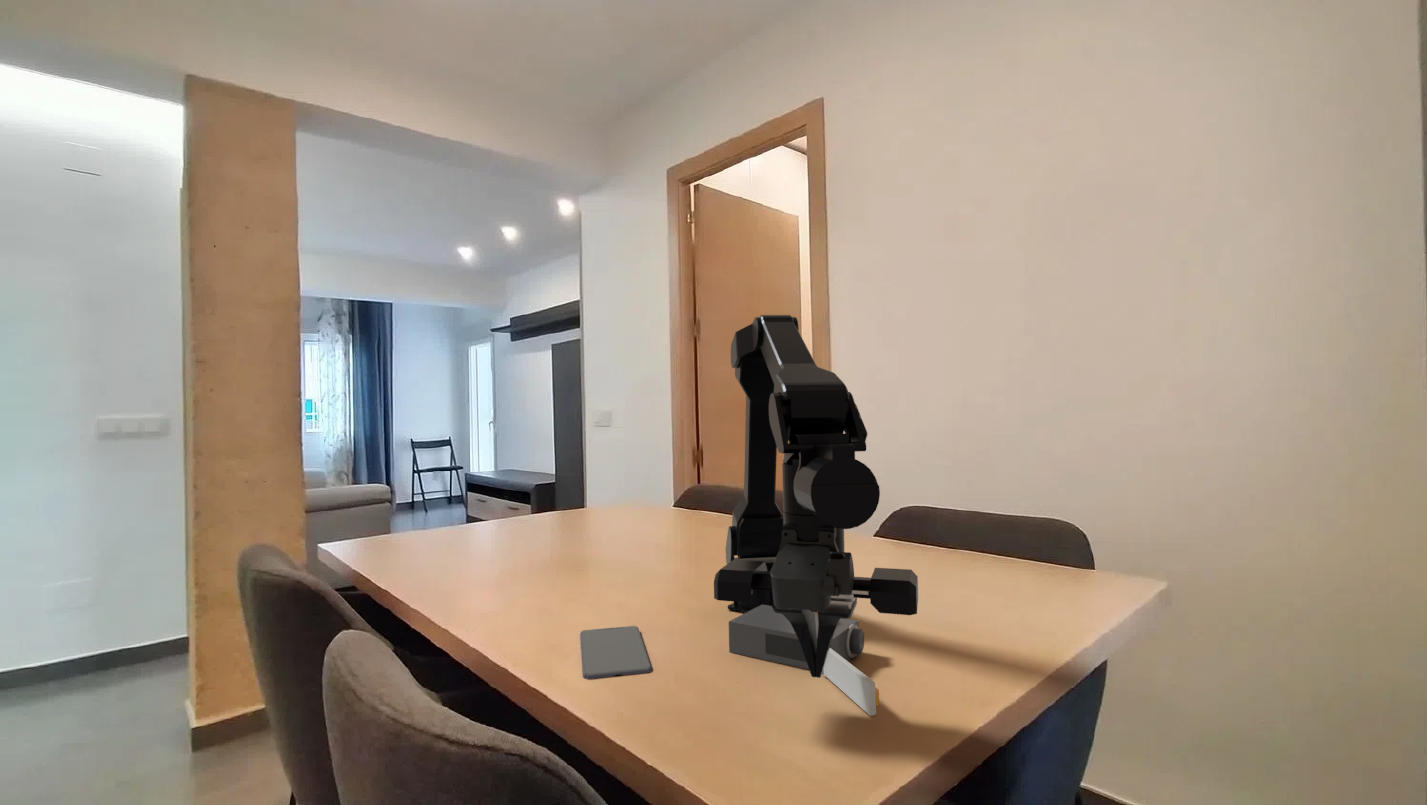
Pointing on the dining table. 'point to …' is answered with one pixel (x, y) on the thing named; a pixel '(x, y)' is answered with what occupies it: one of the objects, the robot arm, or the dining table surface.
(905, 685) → the dining table surface
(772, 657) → the block
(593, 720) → the dining table surface
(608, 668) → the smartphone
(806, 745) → the dining table surface
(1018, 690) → the dining table surface
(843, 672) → the side door
